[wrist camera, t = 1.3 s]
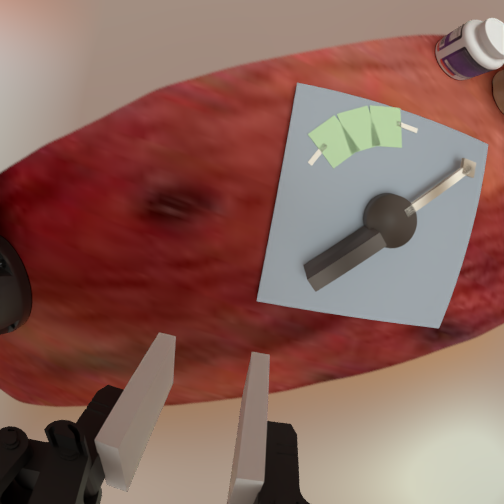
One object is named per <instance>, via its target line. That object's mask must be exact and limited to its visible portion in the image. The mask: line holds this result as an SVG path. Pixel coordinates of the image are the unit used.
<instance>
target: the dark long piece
mask: <svg viewBox="0 0 504 504" xmlns="http://www.w3.org/2000/svg"><path fill="white" fill-rule="evenodd" d="M475 168H476V162H473V161H471V160H468V159H466V158H462V159H461V165H460V168H459V169H458V170H456V171H455V172H453V173H452V174H451V175H449V176H448V177H447V178H445V179H444V180H442V181H441V182H440V183H438V184H437V185H435V186H434V187H433V188H431V189H430V190H428V191H427V192H426V193H424V194H423V195H421V196H420V197H419V198H417V199H416V200H414V201H413V202H411V203H410V202H409V201H408V200H407V199H406V198H404V197H401V196H398V195H395V194H392V193H382V194H379V195H377V196H375V197H374V198H372V199H371V200H370V201H369V203H368V204H367V206H366V208H365V210H364V214H363V224H364V226H363V227H361V228H360V229H358V230H357V231H355V232H354V233H352V234H351V235H349V236H347V237H346V238H344V239H343V240H341V241H340V242H338V243H337V244H335V245H334V246H332V247H331V248H329V249H328V250H326V251H325V252H323V253H322V254H320V255H318V256H317V257H315V258H314V259H312V260H311V261H309V262H308V263H306V264H304V265H303V266H304V270H305V273H306V277H307V280H308V282H309V283H310V285H311V286H312V288H313V289H314V290H315V292H316V291H318V290H320V289H321V288H323V287H324V286H326V285H328V284H329V283H331V282H332V281H334V280H336V279H337V278H339V277H340V276H342V275H343V274H345V273H346V272H348V271H350V270H351V269H353V268H354V267H356V266H357V265H359V264H360V263H362V262H363V261H365V260H366V259H368V258H369V257H371V256H372V255H374V254H375V253H377V252H378V251H380V250H381V249H383V248H384V247H385V248H398V247H401V246H403V245H405V244H406V243H407V242H408V241H409V240H410V239H411V238H412V237H413V235H414V233H415V230H416V227H417V214H416V211H418V210H419V209H420V208H422V207H423V206H425V205H426V204H428V203H429V202H430V201H432V200H433V199H434V198H436V197H437V196H439V195H440V194H441V193H443V192H444V191H446V190H447V189H448V188H450V187H451V186H452V185H454V184H455V183H456V182H458V181H459V180H460V179H462V178H463V177H464V176H468V177H471V178H474V174H475Z"/></svg>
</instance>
